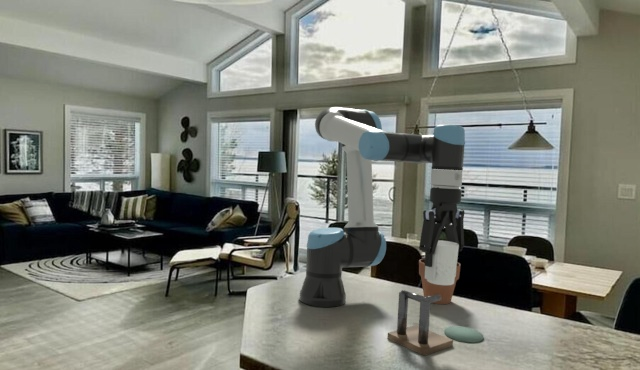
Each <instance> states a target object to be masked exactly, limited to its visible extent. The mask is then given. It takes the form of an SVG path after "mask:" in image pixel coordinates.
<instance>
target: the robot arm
mask: <svg viewBox="0 0 640 370" xmlns="http://www.w3.org/2000/svg"><path fill="white" fill-rule="evenodd" d="M314 122H315V123H314V128H315V132H316V133H317V135H318V136H319V137H320V138H321V139H323V140H326V141H327V142H337V143H340V144H341V149H342V150H343V151H344V152H345V153H346V174H347V175H346V178H347V180H346V183H347V187H346V188H347V211H348V212H347V216H348V219H347V221H348V222H347V223H346V224H345V226H344V227H343V228H341V227H322V228H316V229H314V230H312V231H310V233H308V236H307V243H306V267H305V277H304V280H303V282H302V286H301V289H300V291H299V301H300V302H302V303H303V304H305V305H308V306H312V307H320V308H332V307H334V308H335V307H339V306H342V305H344V304H345V303H346V298H347V294H346V289H345V286H344V283H343V279H342V273H343V268H360V267H363V268H369V267H373V266H377V265H378V264H380V263H381V262H382V261H383V260H384V257H385V255H386V251H387V241H386V238H385V235H384V233H382V232H381V231H379V225H377V223H376V222H375V221H374V193H373V192H374V191H373V188H374V187H373V169H372V168H373V165H372V163H373V162H372V161H374V162H379V161H383V162H398V163H412V164H418V165H419V164H420V165H421V164H431V173H430V185H431V186H432V187H431V188H430V193H429V202H431V203H432V207H431V209H430V210H423V212H422V214H423V215H422V217H423V222H422V227H421V235H420V241H419V247H418V249H419V251H421V252H422V253H424V258H425V279H429V280H432V281H435V277H436V261H437V254H434V253H435V250H436V246H437V243H438V240H439V237H440V234H441V231H442V229H443V228H445V230H446V235H447V240H448V241H450V242H455V243H458V244H459V249H458V252H462V251H463V248H465V237H464V236H465V232H464V231H465V230H464V226H465V225H464V219H465V210H463V209H458V206H457V205H460V204H461V202H462V190H461V188H460V187H462V185H463V169H464V159H465V157H464V156H465V155H464V154H465V145H466V140H465V137H466V133H465V131H466V130H465V128H464V127H463V126H462V125H458V124H438V125H435V126H434V128H433V133H432V134H413V133H403V132H402V133H401V132H390V131H385V130H383V126H382V121H381V118H380V117H379V116H378V115H377V113H375V112H374V111H372V110H371V111H370V110H367V109H355V108H349V107H341V106H332V107H331V106H330V107H327V108H326V109H323V110H322V111H321V112H320V113H319V114H318V115H317V116H316V118H315V121H314ZM455 277H456V273H455Z"/></svg>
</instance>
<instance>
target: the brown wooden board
mask: <svg viewBox="0 0 640 370" xmlns="http://www.w3.org/2000/svg"><path fill="white" fill-rule="evenodd" d="M418 333H419V325H416V324H415V325H411V326H408V327H407V329H406V335H400V334H397V329H396V330H393V331H390V332H387V339H388V340H390V341H391V342H394V343H397V344H398V345H401V346H403V347H404V348H407V349H409V350H410V351H413V352H415V353H417V354H420V355H422V356H427V355H431V354H433V353H437V352H439V351H442V350H446V349H448V348H450V347H453V346H454V344H453V342H454V339H452V338H449V337H447V336H443V335H441V334H439V333H438V332H437V333H436V332H434V331H431V330H429V334H428V344H425V345H424V344H420V343H418Z"/></svg>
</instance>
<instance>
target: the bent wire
mask: <svg viewBox="0 0 640 370" xmlns="http://www.w3.org/2000/svg"><path fill="white" fill-rule="evenodd" d="M409 299H410V300H413V301H416V302H418V303H419V318H418V319H419V320H418V321H419V322H418V326H419V333H418V343H420V344H424V345H425V344H428V334H429V331H430V316H431V314H430V313H431V304H433V303H432V302H436V301H440V300H441V295H439V294H437V295H432V296H428V297H424V295H420V294H417V293H414V292H411V291H409V290H406V289H402V290H400V291H399V292H398V304H397V305H398V306H397V307H398V308H397V322H396V324H397V325H396V330H397V334H400V335H406V329H407V326H408V310H409V309H408V308H409Z"/></svg>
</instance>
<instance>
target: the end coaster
mask: <svg viewBox="0 0 640 370" xmlns="http://www.w3.org/2000/svg"><path fill="white" fill-rule="evenodd" d="M443 332H444V335H445V337H447V338H449V339H451V340H453V341H454V340H455V341H458V342H463V343H474V344H475V343H479V342H482V341H483V340H484V334H483V333H482V332H481V331H479V330H477V329H475V328H474V329H473V328H471V327H468V326H460V325H452V326H447V327H445V328H444V330H443Z"/></svg>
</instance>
